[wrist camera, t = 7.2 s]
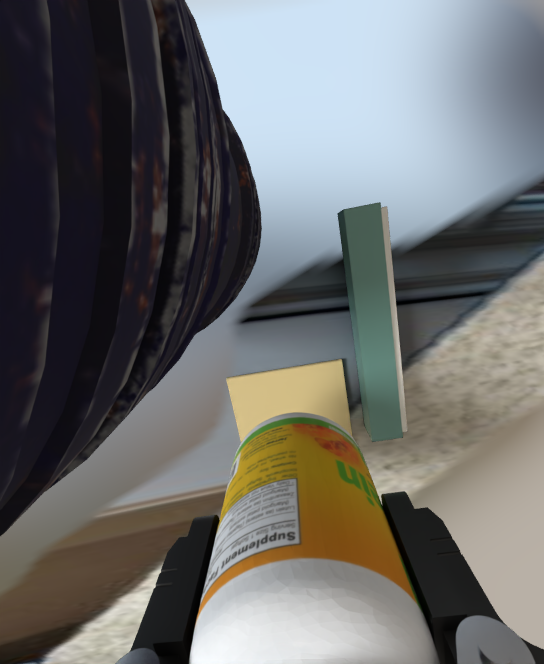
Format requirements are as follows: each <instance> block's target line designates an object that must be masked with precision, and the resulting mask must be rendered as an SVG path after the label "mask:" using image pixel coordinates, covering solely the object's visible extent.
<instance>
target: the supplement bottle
mask: <svg viewBox="0 0 544 664" xmlns="http://www.w3.org/2000/svg"><path fill="white" fill-rule="evenodd" d="M189 664H440V662H439V658H438V654H437V651H436V648H435V645H434V642H433V639H432V636H431V633H430V630H429V627H428V624H427V621H426V618H425V615H424V613H423V610H422V608H421V605H420V603H419V600H418V598H417V595H416V592H415V590H414V587H413V585H412V582H411V579H410V577H409V574H408V572H407V569H406V566H405V564H404V561H403V559H402V556H401V553H400V551H399V548H398V546H397V543H396V540H395V538H394V535H393V533H392V530H391V528H390V525H389V522H388V520H387V517H386V515H385V512H384V509H383V507H382V504H381V502H380V499H379V496H378V494H377V491H376V488H375V486H374V483H373V480H372V478H371V475H370V473H369V470H368V467H367V464H366V462H365V459H364V457H363V455H362V453H361V450H360V448H359V446H358V445H357V443H356V441H355V440H354V438H353V437H352V436H351V435H350V434H349V433H348V432H347V431H346V430H345V429H344V428H343V427H341V426H340V425H339V424H337V423H336V422H334V421H332V420H330V419H328V418H325V417H323V416H319V415H316V414H311V413H302V412H294V413H286V414H282V415H278V416H275V417H272V418H270V419H268V420H266V421H264V422H262V423H260V424H259V425H257V426H256V427H255V428H254V429H252V430H251V431H250V432H249V433H248V434H247V436H246V437H245V438H244V440H243V441H242V443H241V444H240V446H239V448H238V450H237V453H236V455H235V459H234V462H233V465H232V469H231V473H230V478H229V482H228V486H227V491H226V495H225V499H224V504H223V508H222V512H221V517H220V521H219V525H218V529H217V533H216V537H215V542H214V547H213V551H212V556H211V560H210V565H209V569H208V573H207V578H206V582H205V586H204V590H203V594H202V599H201V603H200V607H199V612H198V615H197V619H196V624H195V629H194V634H193V641H192V646H191V651H190V658H189Z"/></svg>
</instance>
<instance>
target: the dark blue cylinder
mask: <svg viewBox="0 0 544 664" xmlns="http://www.w3.org/2000/svg"><path fill="white" fill-rule="evenodd" d="M259 206H260V205H259V199H258V194H257V189H256V184H255V180H254V178H253V175H252V172H251V167H250V164H249V161H248V158H247V156H246V152H245V150H244V147H243V144H242V142H241V140H240V138H239V136H238V134H237V132H236V130H235V128H234V126H233V124H232V122H231V121H230V119H229V117H228V116H227V115H226V113H225V112H224V110H223V109H222V105H221V100H220V95H219V90H218V85H217V81H216V77H215V74H214V72H213V69H212V66H211V63H210V61H209V58H208V55H207V52H206V49H205V47H204V44H203V41H202V38H201V35H200V33H199V30H198V27H197V24H196V22H195V19H194V17H193V15H192V14H191V12H190V10H189V8H188V6H187V4H186V2H185V0H0V536H1V535H2V534H4V533H5V532H6V531H7V530H8V529H9V528H10V526H12V525H13V524H14V522H15V521H16V520H17V519H18V518H19V517H20V516H21V515H22V514H23V513H24V512H25V511H26V510H27V509H28V508H29V507H30V506H31V505H32V504H33V503H34V502H35V501H36V500H37V499H38V498H39V497H40V496H41V495H42V494H43V493H44V492H45V491H47V490H48V489H49V488H51V487H52V486H53V485H55V484H56V483H57V482H58V481H60V480H61V479H62V478H63V477H65V476H66V475H67V474H69V473H70V472H71V471H73V470H74V469H75V468H76V467H78V466H79V465H80V464H82V463H83V462H84V461H85V460H87V459H88V458H89V457H90V456H91V454H92V453H93V452H94V451H95V450H96V449H97V448H98V447H99V445H100V444H101V443H102V442H103V441H104V440H105V439H106V438H107V437H108V436H109V435H110V434H111V433H112V432H113V431H114V430H115V428H116V427H117V426H118V425H119V424H120V423H121V422H122V421H123V420H124V419H125V417H127V415H128V414H129V413H130V412H131V411H132V410H133V408H134V407H135V406H136V405H137V404H138V403H139V402H140V401H141V400H142V399H143V397H144V396H145V395H146V394H147V393H148V392H149V391H150V390H152V389H153V388H154V387H155V386H156V385H157V384H158V383H159V382H160V380H161V379H162V378H163V377H164V376H165V375H166V374H167V372H168V371H169V370H170V369H171V368H172V367H173V366H174V365H175V364H176V363H177V361H178V360H179V359H180V357H181V356H182V354H183V353H184V351H185V349H186V348H187V346H188V345H189V343H190V341H191V340H192V338H193V337H194V335H195V334H196V333H198V332H200V331H201V330H203V329H205V328H206V327H207V326H208V325H209V324H211V323H212V322H213V321H214V320H216V319H217V318H218V317H219V316H220V315H221V314H222V313H223V312H224V311H225V310H226V309H227V308H228V306H229V305H230V304H231V303H232V302H233V301H234V300H235V299H236V297H237V296H238V294H239V292H240V291H241V289H242V288H243V286H244V285H245V283H246V281H247V279H248V278H249V276H250V274H251V272H252V269H253V266H254V264H255V262H256V259H257V255H258V251H259V247H260V239H261V229H262V228H261V211H260V207H259Z"/></svg>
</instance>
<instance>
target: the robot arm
mask: <svg viewBox="0 0 544 664" xmlns="http://www.w3.org/2000/svg"><path fill="white" fill-rule="evenodd" d="M381 498H382V507H383V509H384V512H385V515H386V517H387V520H388V522H389V525H390V528H391V530H392V533H393V535H394V538H395V540H396V543H397V546H398V548H399V551H400V553H401V556H402V559H403V561H404V564H405V566H406V569H407V572H408V574H409V577H410V579H411V582H412V585H413V587H414V590H415V592H416V595H417V598H418V600H419V603H420V605H421V608H422V610H423V613H424V615H425V618H426V621H427V624H428V627H429V630H430V633H431V636H432V639H433V642H434V645H435V648H436V651H437V654H438V658H439V662H440V664H544V649H541V648H539V647H537V646H534V645H532V644H530V643H529V642H527V641H525V640H523V639H522V638H521V637H519V636H518V635H517V634H516V633H515V632H514V631H513V630H511V629H510V628H509V627H508V626H507V625H506V624H505V623H503V621H502V620H501V619H500V618H499V616H498V615H497V613H496V612H495V610H494V608H493V607H492V605H491V603H490V602H489V600H488V598H487V596H486V595H485V593H484V591H483V589H482V588H481V586H480V584H479V583H478V581H477V579H476V577H475V576H474V574H473V572H472V571H471V569H470V567H469V565H468V564H467V562H466V560H465V559H464V557H463V555H461V553H460V550H459V548H458V546H457V545H456V543H455V541H454V540H453V539H452V536H451V534H450V533H449V531H448V530H447V528H446V526H445V524H444V522H443V521H442V520H441V519H440V518H439V517H438V516H437V515H435V514H434V513H433V512H432V511H431V510H430V509H429V508H420V509H414V507H413V505H412V503H411V501H410V499H409V497H408V495H407V493H406V492H405V491H403V492H395V493H387V494H382V495H381ZM219 521H220V520H219V517H218V516H217V515H212V516H204V517H196V518H194V520H193V522H192V525H191V528H190V531H189V534H188V537H180V538H178V540H177V541H176V542H175V544H174V545H173V546H172V548H171V549H170V550H169V552H168V553H167V556H166V558H165V561H164V564H163V566H162V569H161V573H160V574H159V577H158V580H157V582H156V588H154V590H153V593H152V595H151V598H150V601H149V603H148V606H147V609H146V611H145V614H144V617H143V619H142V622H141V625H140V627H139V630H138V633H137V635H136V638H135V641H134V643H133V646H132V648H131V650H130V652H129V653H127V654H126V655H124V656H123V657H122V658H121V659H120V660H119V661H118V662H117V663H115V664H189V658H190V651H191V646H192V641H193V634H194V629H195V624H196V619H197V615H198V612H199V607H200V603H201V599H202V594H203V590H204V586H205V582H206V578H207V573H208V569H209V565H210V560H211V556H212V551H213V547H214V542H215V537H216V533H217V529H218V525H219Z"/></svg>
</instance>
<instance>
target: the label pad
mask: <svg viewBox="0 0 544 664" xmlns="http://www.w3.org/2000/svg"><path fill="white" fill-rule="evenodd" d="M226 380H227V384H228V388H229V392H230V397H231V401H232V405H233V410H234V414H235V418H236V422H237V427H238V431H239V435H240V439H241V443H242V441H243V440H244V438H245V437H246V436H247V434H248V433H249V432H250V431H251V430H252V429H254V428H255V427H256V426H257V425H259V424H260V423H262V422H264V421H266V420H268V419H270V418H272V417H275V416H278V415H282V414H286V413H294V412H302V413H311V414H316V415H319V416H323V417H325V418H328V419H330V420H332V421H334V422H336V423H337V424H339V425H340V426H341V427H343V428H344V429H345V430H346V431H347V432H348V433H349V434H350V435H351V436H352V430H351V423H350V415H349V408H348V401H347V394H346V387H345V379H344V372H343V365H342V360H341V359H338V360H331V361H325V362H319V363H313V364H307V365H301V366H295V367H288V368H282V369H276V370H270V371H264V372H258V373H252V374H246V375H239V376H233V377H227V379H226Z"/></svg>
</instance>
